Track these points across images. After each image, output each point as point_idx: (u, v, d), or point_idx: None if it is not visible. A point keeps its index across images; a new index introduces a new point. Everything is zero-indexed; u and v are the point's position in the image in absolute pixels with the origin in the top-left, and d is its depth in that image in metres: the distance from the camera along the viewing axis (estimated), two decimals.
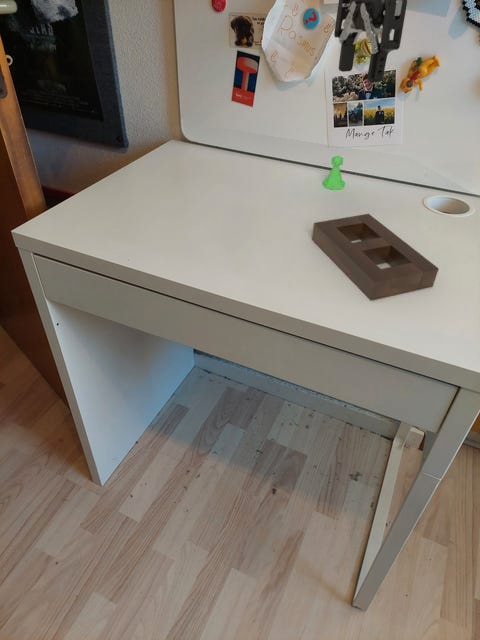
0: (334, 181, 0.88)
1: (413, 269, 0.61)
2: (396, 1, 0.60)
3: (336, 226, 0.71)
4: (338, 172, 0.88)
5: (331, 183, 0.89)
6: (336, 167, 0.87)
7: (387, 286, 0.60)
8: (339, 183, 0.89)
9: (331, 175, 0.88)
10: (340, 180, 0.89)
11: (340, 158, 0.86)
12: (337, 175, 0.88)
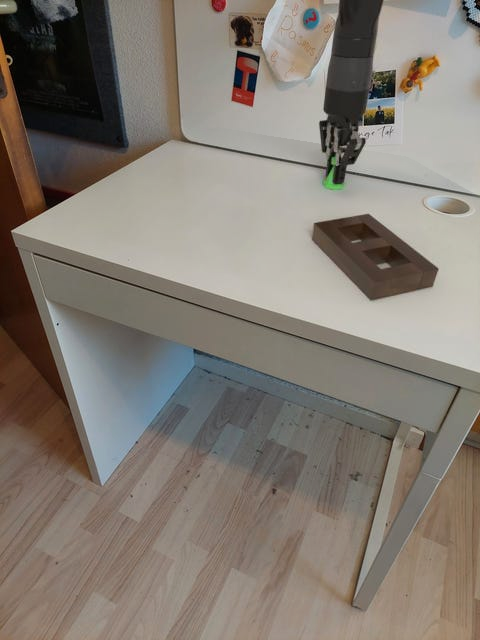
0: None
1: (413, 269, 0.61)
2: (357, 143, 0.79)
3: (336, 226, 0.71)
4: None
5: (331, 183, 0.89)
6: None
7: (387, 286, 0.60)
8: None
9: (331, 175, 0.88)
10: None
11: None
12: None
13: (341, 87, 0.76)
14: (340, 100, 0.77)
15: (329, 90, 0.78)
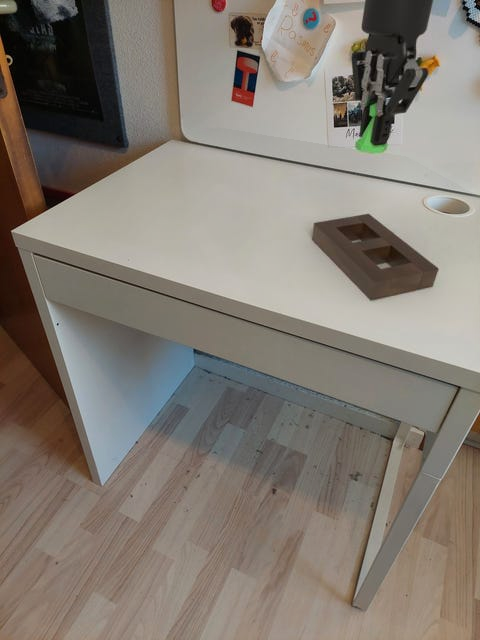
0: None
1: (413, 269, 0.61)
2: (415, 75, 0.51)
3: (336, 226, 0.71)
4: None
5: (368, 144, 0.61)
6: None
7: (387, 286, 0.60)
8: None
9: (368, 132, 0.61)
10: None
11: None
12: None
13: None
14: (391, 6, 0.50)
15: None
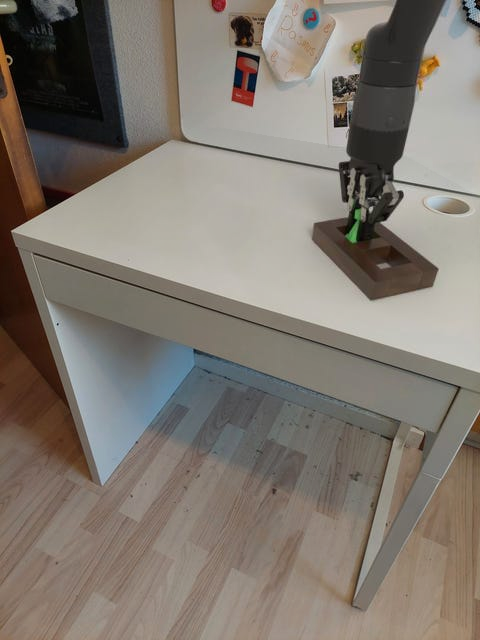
0: None
1: (413, 269, 0.61)
2: (392, 198, 0.59)
3: (336, 226, 0.71)
4: None
5: None
6: None
7: (387, 286, 0.60)
8: None
9: (354, 232, 0.68)
10: None
11: None
12: None
13: (372, 125, 0.56)
14: (370, 142, 0.57)
15: (355, 128, 0.58)
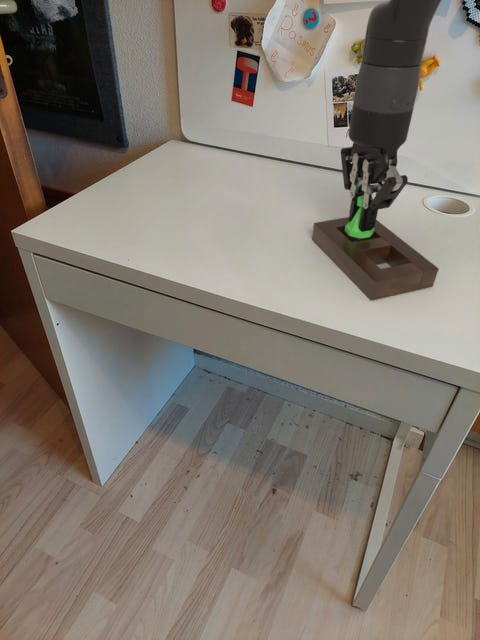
0: None
1: (413, 269, 0.61)
2: (396, 183, 0.58)
3: (336, 226, 0.71)
4: None
5: (356, 230, 0.67)
6: None
7: (387, 286, 0.60)
8: None
9: (356, 219, 0.67)
10: None
11: None
12: None
13: (376, 108, 0.55)
14: (373, 125, 0.56)
15: (357, 111, 0.57)
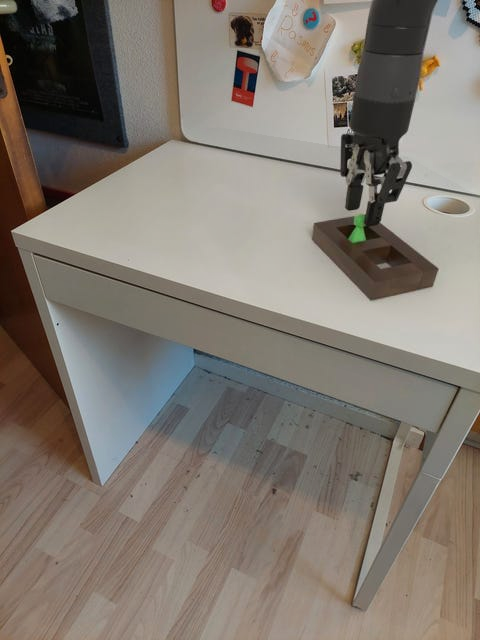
0: None
1: (413, 269, 0.61)
2: (400, 168, 0.56)
3: (336, 226, 0.71)
4: (363, 234, 0.69)
5: None
6: (360, 228, 0.68)
7: (387, 286, 0.60)
8: None
9: (354, 238, 0.69)
10: None
11: None
12: (362, 238, 0.69)
13: (377, 96, 0.54)
14: (375, 115, 0.55)
15: (359, 100, 0.56)
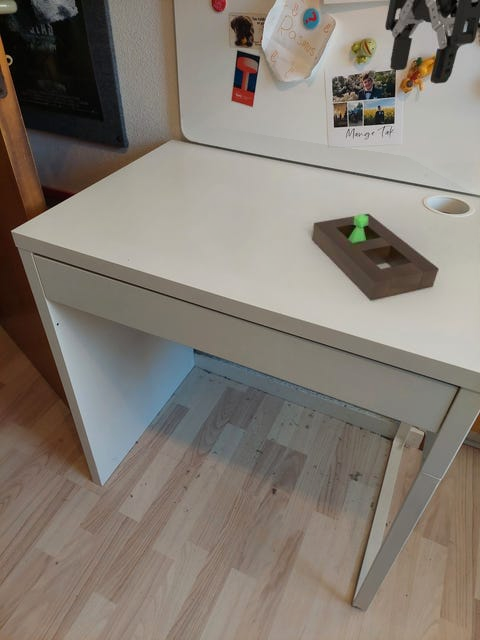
0: None
1: (413, 269, 0.61)
2: None
3: (336, 226, 0.71)
4: (363, 234, 0.69)
5: None
6: (360, 228, 0.68)
7: (387, 286, 0.60)
8: None
9: (354, 238, 0.69)
10: None
11: (365, 218, 0.67)
12: (362, 238, 0.69)
13: None
14: None
15: None
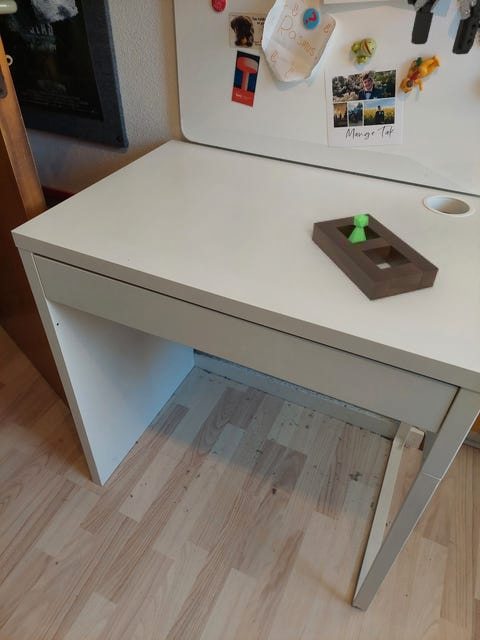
0: None
1: (413, 269, 0.61)
2: None
3: (336, 226, 0.71)
4: (363, 234, 0.69)
5: None
6: (360, 228, 0.68)
7: (387, 286, 0.60)
8: None
9: (354, 238, 0.69)
10: None
11: (365, 218, 0.67)
12: (362, 238, 0.69)
13: None
14: None
15: None
